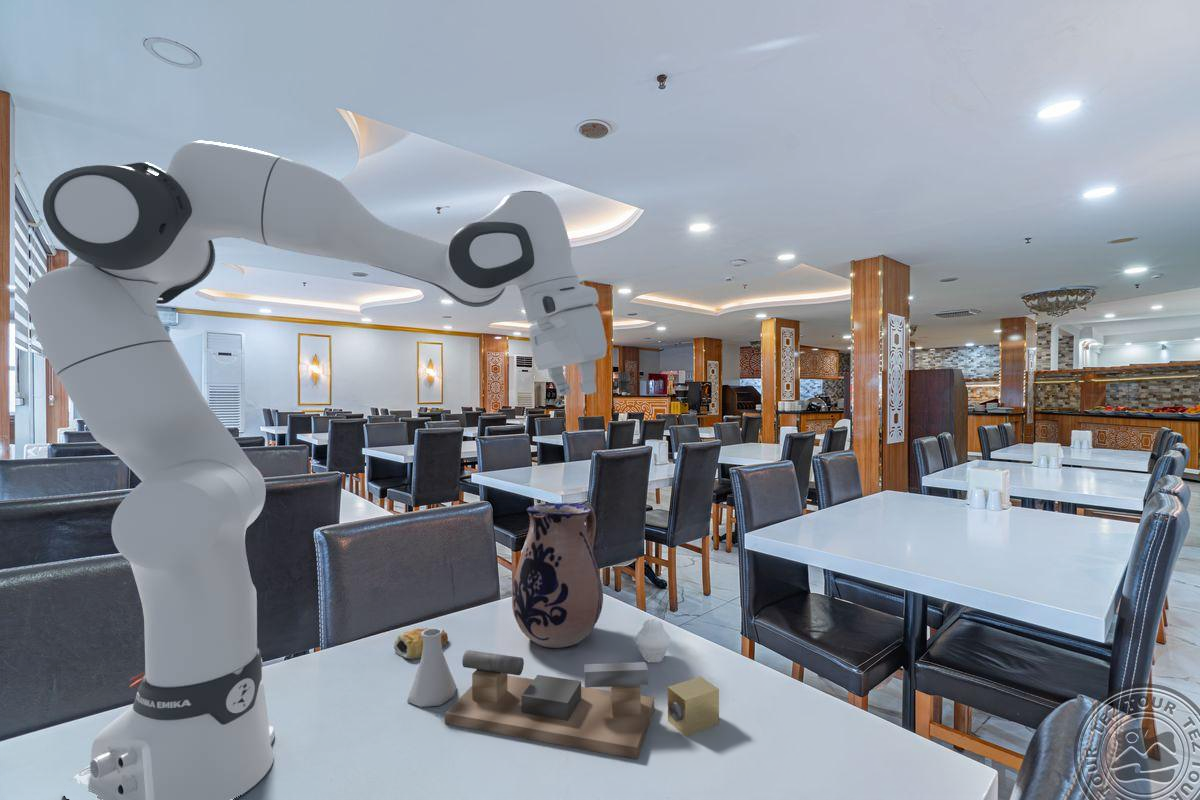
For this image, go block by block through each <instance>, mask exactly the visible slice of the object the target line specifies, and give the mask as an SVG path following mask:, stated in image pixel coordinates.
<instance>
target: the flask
mask: <svg viewBox="0 0 1200 800" xmlns="http://www.w3.org/2000/svg"><path fill="white" fill-rule="evenodd" d="M443 630H444V629H443V628H439V627H428V629H426V630H424V631H423V632H422V634H421V638H423V651H422V656H421V657H420V662H419V665H418V668H417V671H416V674H415V677H414V680H413V683H412V687H411V689H410V691H409V695H408V698H407V702H408V703H411V705H416V706H418V707H422V708H423V707H424V708H425V707H434V706H436V707H437V706H441V705H443V704H444V703H446V702H448V701H449V700H451V699H452V698H453V697H455V694H456V690H457V683H456V681H455V679H454V677H453V674H452V672H451V670H450V667H449V665H448V662H447V660H446V658H445V654H444V651H443V647H442V645H441V635H442V633H443Z"/></svg>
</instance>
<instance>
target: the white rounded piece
mask: <svg viewBox="0 0 1200 800" xmlns="http://www.w3.org/2000/svg"><path fill="white" fill-rule="evenodd" d="M642 624H643V625H642V628H641V629H640V630H638V632H637V634H636V637H635V642H636V644H637V648H638V650H639V652H640V653H641V655H642V657H643V659H644V660H645V661H646V660H647V661H649V662H648V663H651V662H657V663H660V662H662V661H663V660H664V658H665V655H666V653H667V652H668V650H669V648H670V644H671V635H670V634H669V633H668V632H667V631H666V630H665V628H664V625H663V623H662V622H661V621H660V620H659V619H656V618H655V619H654V618H653V619H651V618H650V619H647V620H645V621H644V623H642ZM647 661H646V662H647ZM659 661H660V662H659Z"/></svg>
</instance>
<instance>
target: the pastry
mask: <svg viewBox="0 0 1200 800" xmlns="http://www.w3.org/2000/svg"><path fill="white" fill-rule="evenodd" d="M428 628H429V627H428ZM428 628H414V629H412V630H411V631H410V630H409V631H404V632H403V633H402V634H400V635H398V636H397V638H396V640H395V642H394V645H393V649H394V650H395V652H396V654H397V655H398V656H400V657H403V658H405V659H408V660H416V659H421V656H422V651H423V638H421V634H422V632H423V631H424V630H426V629H428ZM448 640H449V637H448V633H447V632H446V631H445V630H444V629H443V633H442V635H441V645H442V648H443V647H444V646H445V645H446V644H447V643H448Z"/></svg>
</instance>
